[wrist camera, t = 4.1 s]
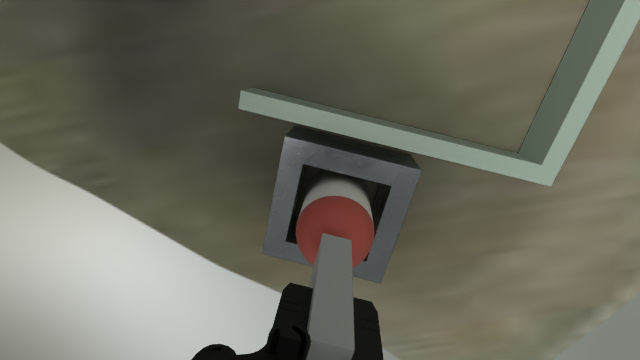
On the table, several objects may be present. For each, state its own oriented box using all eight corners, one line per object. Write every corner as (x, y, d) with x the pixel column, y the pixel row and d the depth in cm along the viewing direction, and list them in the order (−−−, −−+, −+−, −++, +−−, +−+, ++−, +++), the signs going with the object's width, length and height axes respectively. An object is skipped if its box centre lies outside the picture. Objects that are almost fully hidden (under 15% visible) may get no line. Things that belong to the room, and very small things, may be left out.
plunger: (314, 161, 24) (299, 203, 16) (376, 176, 24) (389, 225, 16) (301, 216, 25) (282, 277, 18) (359, 231, 25) (363, 298, 18)
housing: (294, 125, 24) (284, 136, 20) (410, 154, 24) (421, 170, 20) (273, 227, 27) (261, 253, 23) (375, 253, 27) (380, 283, 23)
